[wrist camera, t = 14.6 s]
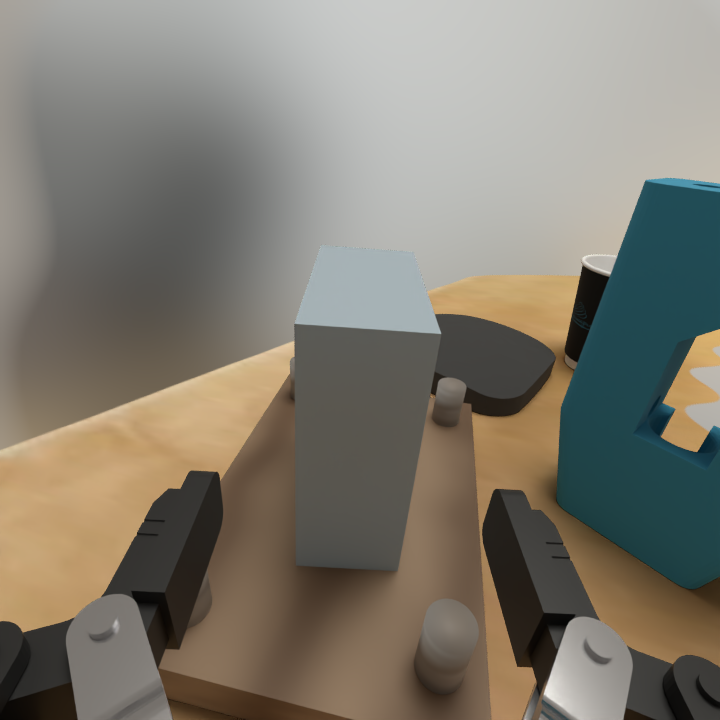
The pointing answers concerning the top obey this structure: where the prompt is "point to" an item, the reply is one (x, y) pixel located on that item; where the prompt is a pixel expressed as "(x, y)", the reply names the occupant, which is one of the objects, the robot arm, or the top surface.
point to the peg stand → (341, 594)
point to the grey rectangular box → (360, 405)
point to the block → (648, 390)
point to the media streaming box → (491, 363)
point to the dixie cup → (587, 303)
